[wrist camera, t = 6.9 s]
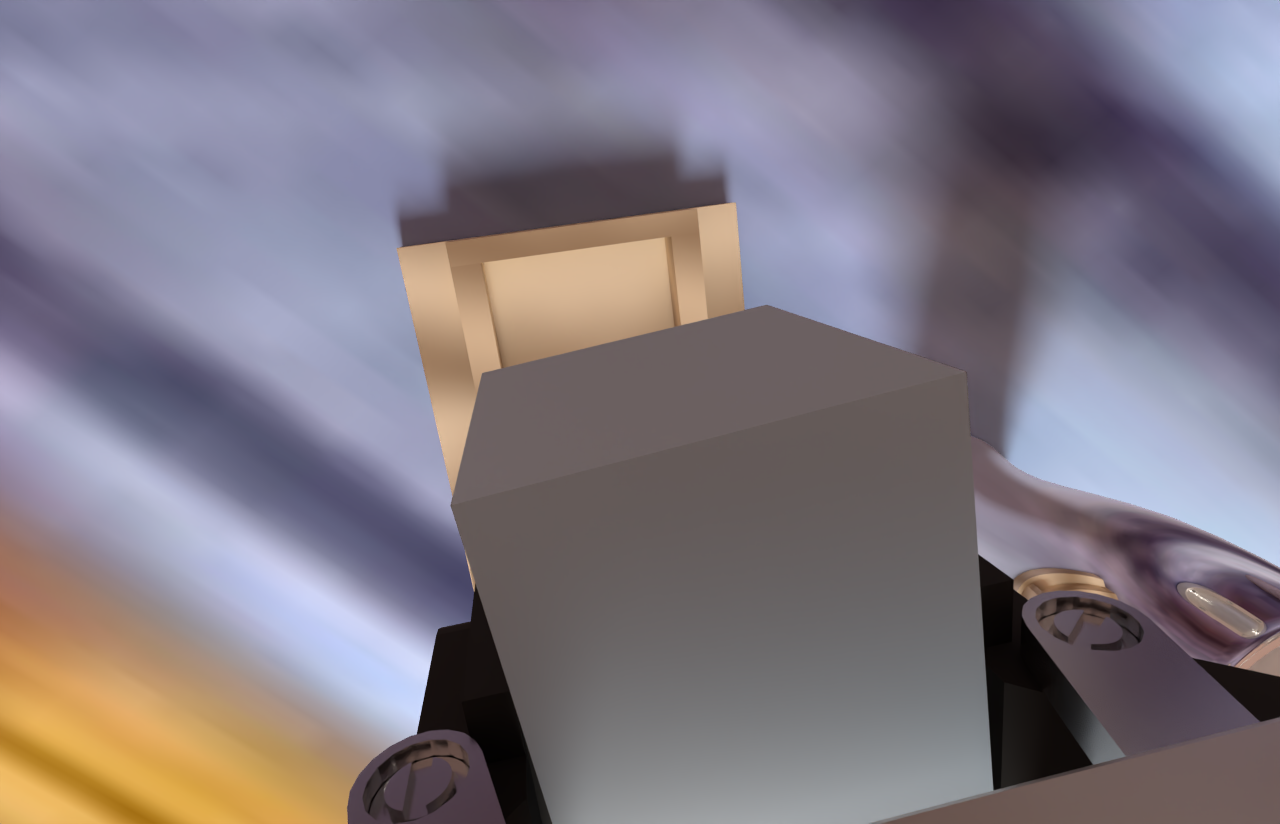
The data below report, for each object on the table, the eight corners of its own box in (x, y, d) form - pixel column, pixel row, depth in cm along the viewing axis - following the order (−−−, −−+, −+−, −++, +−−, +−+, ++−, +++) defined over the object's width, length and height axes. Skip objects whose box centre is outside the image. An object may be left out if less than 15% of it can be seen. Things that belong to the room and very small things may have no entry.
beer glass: (916, 593, 32) (1229, 889, 18) (844, 488, 30) (1136, 731, 16) (1036, 504, 32) (1449, 734, 18) (973, 392, 30) (1386, 551, 16)
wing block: (481, 372, 10) (450, 504, 5) (766, 304, 11) (966, 371, 6) (606, 806, 13) (657, 1155, 8) (832, 736, 13) (1008, 1026, 8)
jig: (402, 246, 24) (380, 252, 21) (726, 203, 26) (761, 200, 22) (513, 744, 31) (512, 818, 27) (767, 686, 32) (800, 748, 28)
